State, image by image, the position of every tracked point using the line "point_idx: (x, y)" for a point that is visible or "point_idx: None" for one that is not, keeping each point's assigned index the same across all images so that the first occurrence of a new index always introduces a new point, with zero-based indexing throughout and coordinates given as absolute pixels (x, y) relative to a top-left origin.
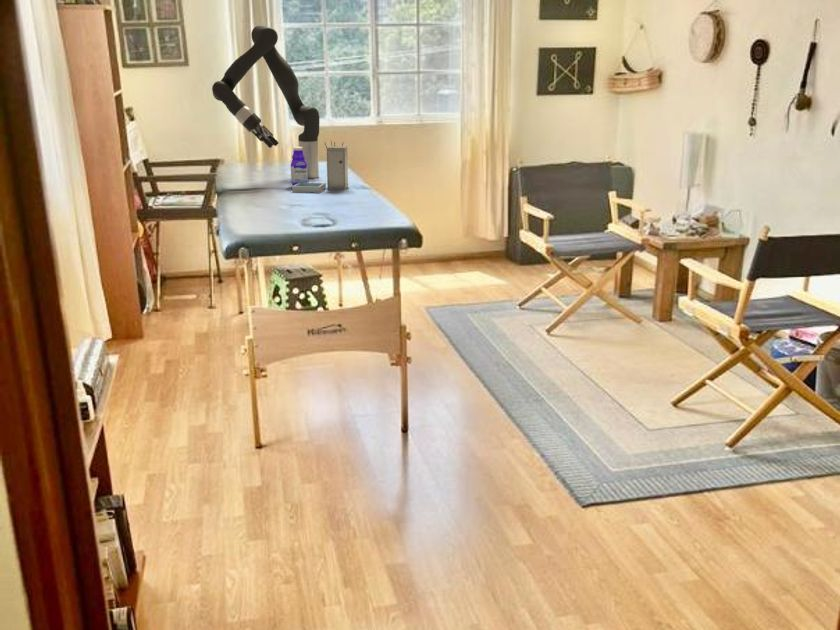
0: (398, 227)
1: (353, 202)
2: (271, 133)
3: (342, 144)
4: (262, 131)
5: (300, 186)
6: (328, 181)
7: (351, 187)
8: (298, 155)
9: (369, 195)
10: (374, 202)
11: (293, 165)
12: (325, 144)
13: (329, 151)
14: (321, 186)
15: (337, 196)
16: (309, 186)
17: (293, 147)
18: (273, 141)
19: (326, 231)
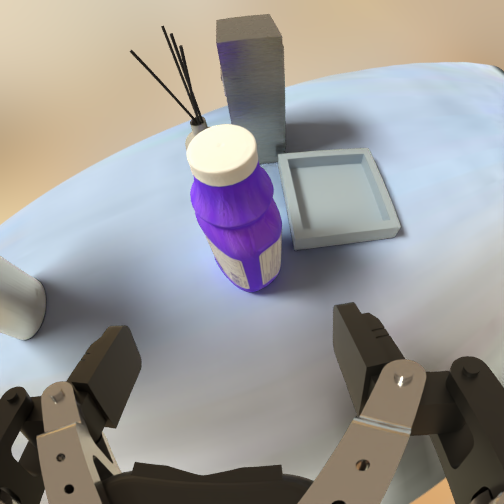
0: (500, 71)
1: (429, 93)
2: (9, 406)
3: (166, 35)
4: (380, 498)
5: (389, 200)
6: (284, 140)
7: (229, 123)
8: (262, 170)
9: (341, 78)
10: (407, 72)
11: (281, 228)
12: (183, 53)
13: (282, 45)
14: (344, 150)
15: (390, 119)
16: (374, 175)
17: (235, 168)
18: (118, 378)
19: None
